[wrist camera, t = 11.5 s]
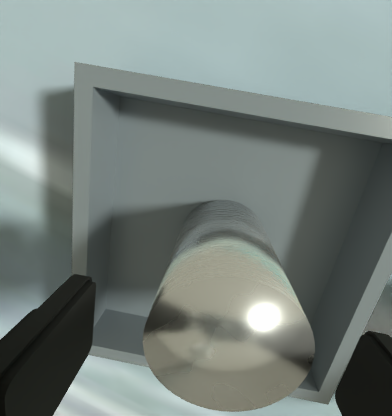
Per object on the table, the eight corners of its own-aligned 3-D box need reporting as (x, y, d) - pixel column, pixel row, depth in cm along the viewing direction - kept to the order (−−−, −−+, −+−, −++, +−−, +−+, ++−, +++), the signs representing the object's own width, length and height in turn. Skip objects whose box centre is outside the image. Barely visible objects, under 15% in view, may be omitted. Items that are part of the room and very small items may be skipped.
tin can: (253, 284, 16) (286, 425, 8) (174, 268, 16) (135, 393, 8) (274, 208, 14) (340, 297, 7) (186, 192, 14) (152, 260, 7)
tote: (304, 347, 18) (328, 404, 14) (100, 306, 19) (70, 350, 15) (391, 129, 13) (460, 129, 10) (113, 81, 14) (74, 62, 10)
